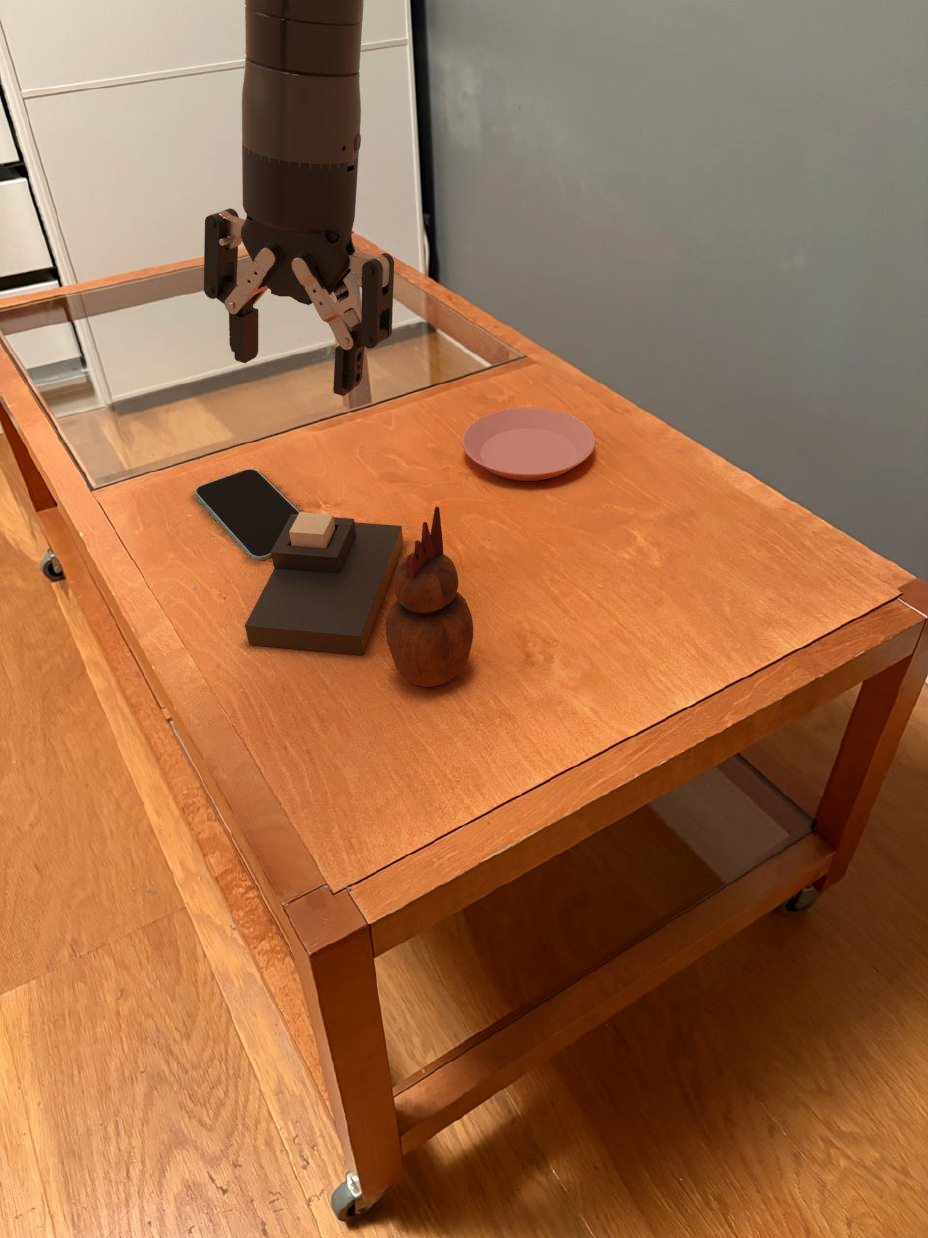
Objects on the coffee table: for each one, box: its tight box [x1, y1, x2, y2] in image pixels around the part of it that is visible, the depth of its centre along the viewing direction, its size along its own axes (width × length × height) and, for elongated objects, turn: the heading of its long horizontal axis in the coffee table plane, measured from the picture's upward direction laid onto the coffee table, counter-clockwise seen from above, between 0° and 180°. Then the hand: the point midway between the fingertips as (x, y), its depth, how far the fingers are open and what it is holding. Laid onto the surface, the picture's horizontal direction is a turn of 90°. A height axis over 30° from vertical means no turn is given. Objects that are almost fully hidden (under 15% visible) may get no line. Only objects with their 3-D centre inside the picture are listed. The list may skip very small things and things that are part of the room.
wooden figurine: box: [384, 506, 474, 688], centre depth 73 cm, size 7×6×15 cm
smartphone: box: [194, 468, 300, 562], centre depth 96 cm, size 7×1×15 cm
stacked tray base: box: [244, 514, 404, 656], centre depth 85 cm, size 10×16×4 cm, turn 170°
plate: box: [461, 406, 596, 482], centre depth 102 cm, size 14×14×2 cm
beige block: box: [289, 511, 335, 548], centre depth 85 cm, size 3×3×2 cm
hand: (295, 375), depth 72 cm, fingers open, 8 cm apart
